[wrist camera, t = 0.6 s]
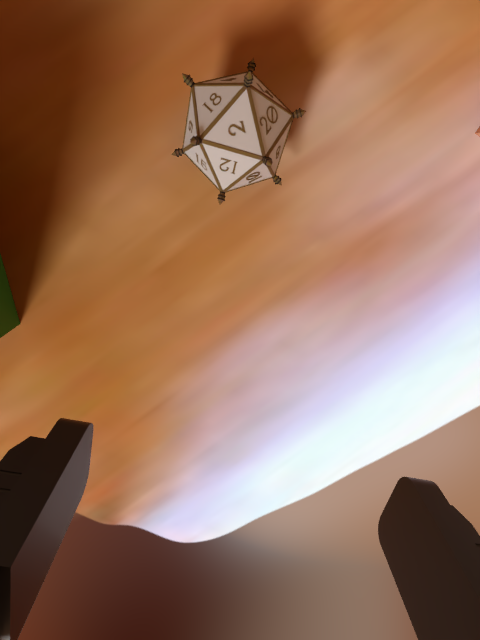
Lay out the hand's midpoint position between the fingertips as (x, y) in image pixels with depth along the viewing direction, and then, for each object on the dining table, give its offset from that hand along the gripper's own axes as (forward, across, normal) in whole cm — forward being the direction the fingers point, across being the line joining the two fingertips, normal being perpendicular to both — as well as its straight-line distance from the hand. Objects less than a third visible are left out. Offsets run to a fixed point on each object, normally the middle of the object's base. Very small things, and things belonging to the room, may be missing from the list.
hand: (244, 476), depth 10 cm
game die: (+26, +2, -9) cm, 28 cm away
